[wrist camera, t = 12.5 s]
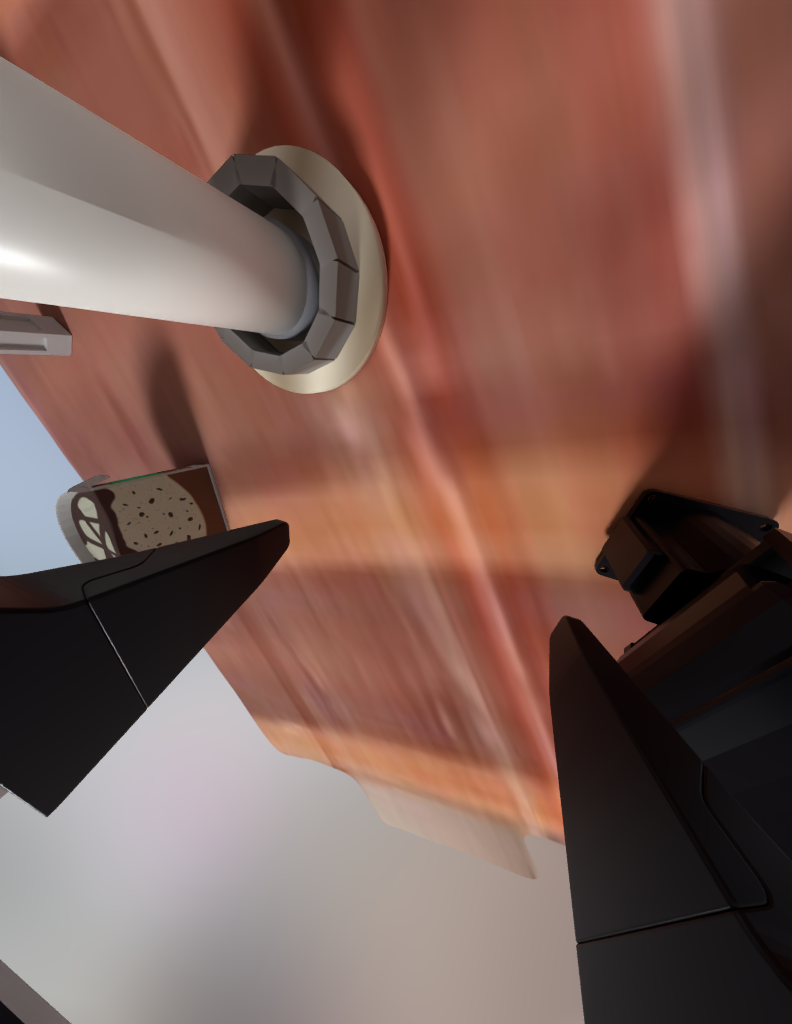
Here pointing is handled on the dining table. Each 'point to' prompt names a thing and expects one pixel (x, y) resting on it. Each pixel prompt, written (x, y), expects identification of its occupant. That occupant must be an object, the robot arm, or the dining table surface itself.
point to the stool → (33, 335)
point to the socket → (343, 266)
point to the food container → (140, 512)
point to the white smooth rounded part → (135, 227)
